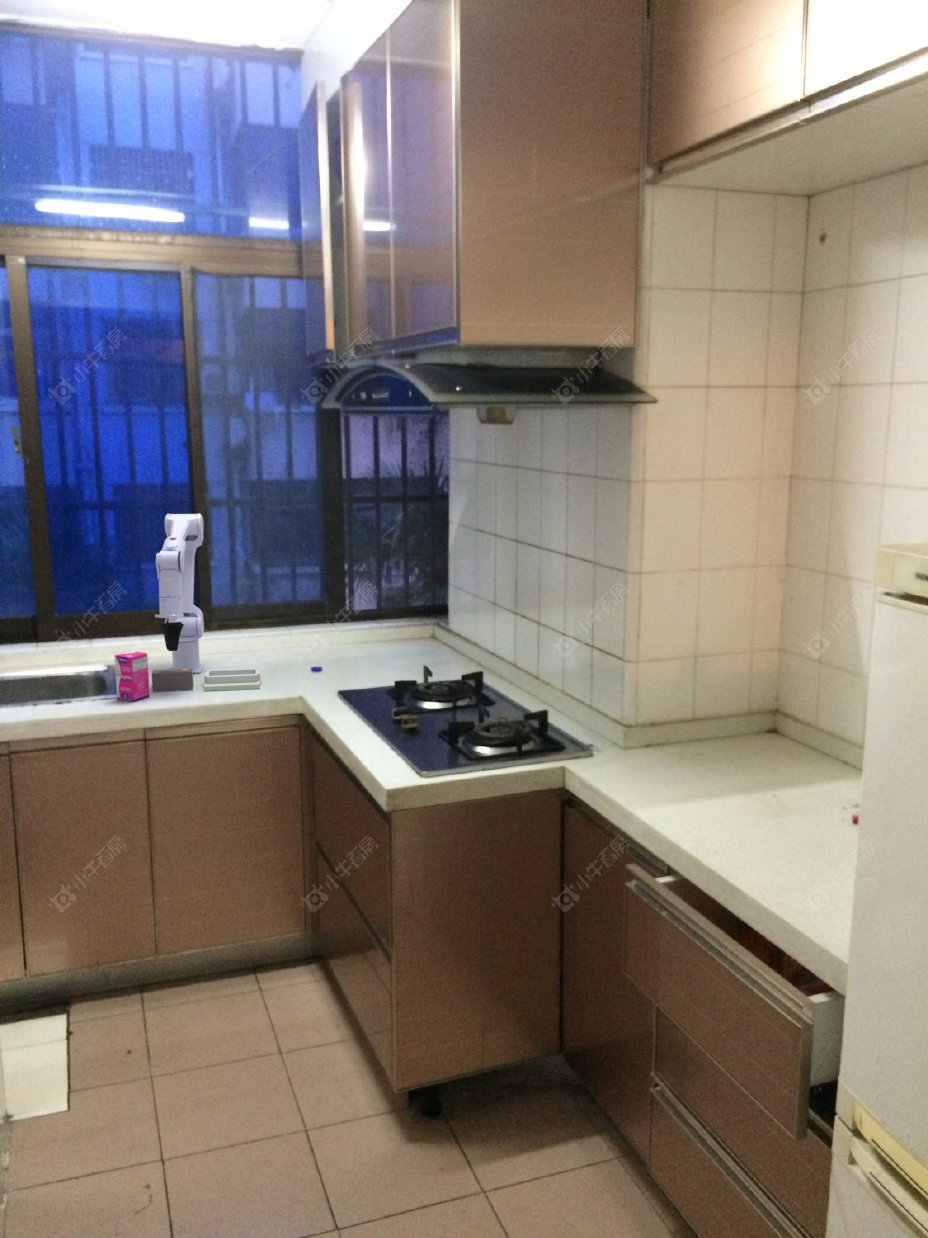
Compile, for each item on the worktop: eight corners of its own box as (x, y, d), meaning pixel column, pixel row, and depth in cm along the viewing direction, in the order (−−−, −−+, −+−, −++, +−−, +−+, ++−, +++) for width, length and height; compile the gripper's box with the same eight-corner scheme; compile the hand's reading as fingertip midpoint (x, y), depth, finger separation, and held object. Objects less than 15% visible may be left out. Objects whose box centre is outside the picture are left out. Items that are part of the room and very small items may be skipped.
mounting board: (206, 678, 278) (206, 667, 277) (259, 676, 280) (259, 665, 280) (204, 691, 264) (203, 679, 264) (259, 688, 267) (259, 677, 266)
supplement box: (116, 699, 256) (113, 654, 254) (133, 694, 261) (131, 650, 259) (133, 702, 253) (130, 657, 251) (150, 697, 259) (148, 652, 256)
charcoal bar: (153, 688, 268) (152, 669, 267) (193, 686, 270) (192, 667, 269) (152, 692, 264) (151, 672, 263) (192, 690, 266) (191, 670, 265)
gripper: (153, 597, 270) (154, 649, 270) (155, 597, 256) (156, 652, 256) (181, 597, 272) (182, 648, 272) (185, 597, 258) (186, 651, 259)
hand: (171, 650), depth 265 cm, fingers open, 7 cm apart
